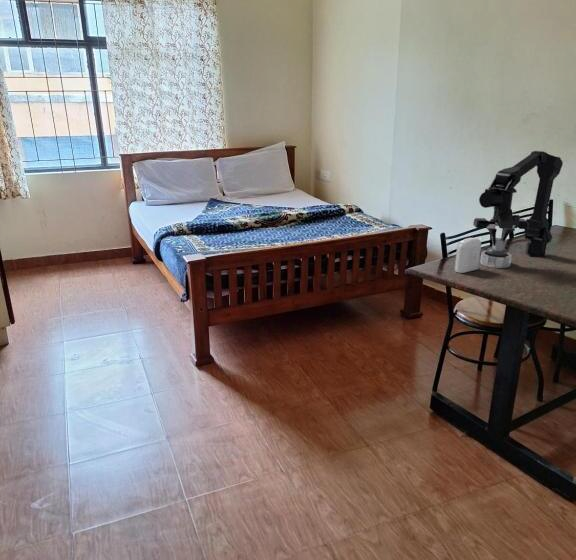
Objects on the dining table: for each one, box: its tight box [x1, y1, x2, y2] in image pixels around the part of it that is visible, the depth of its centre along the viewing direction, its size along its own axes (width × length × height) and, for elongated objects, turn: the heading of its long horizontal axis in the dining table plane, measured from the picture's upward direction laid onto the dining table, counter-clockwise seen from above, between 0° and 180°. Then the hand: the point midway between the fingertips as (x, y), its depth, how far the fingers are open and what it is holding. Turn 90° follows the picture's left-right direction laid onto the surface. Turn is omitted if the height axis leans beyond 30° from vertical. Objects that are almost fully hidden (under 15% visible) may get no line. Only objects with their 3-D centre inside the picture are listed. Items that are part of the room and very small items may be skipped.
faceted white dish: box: [479, 250, 513, 269], centre depth 195 cm, size 11×11×4 cm
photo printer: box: [454, 237, 482, 274], centre depth 185 cm, size 10×4×12 cm, turn 123°
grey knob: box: [486, 237, 508, 257], centre depth 193 cm, size 7×7×6 cm
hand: (497, 245), depth 193 cm, fingers closed on grey knob, 2 cm apart
